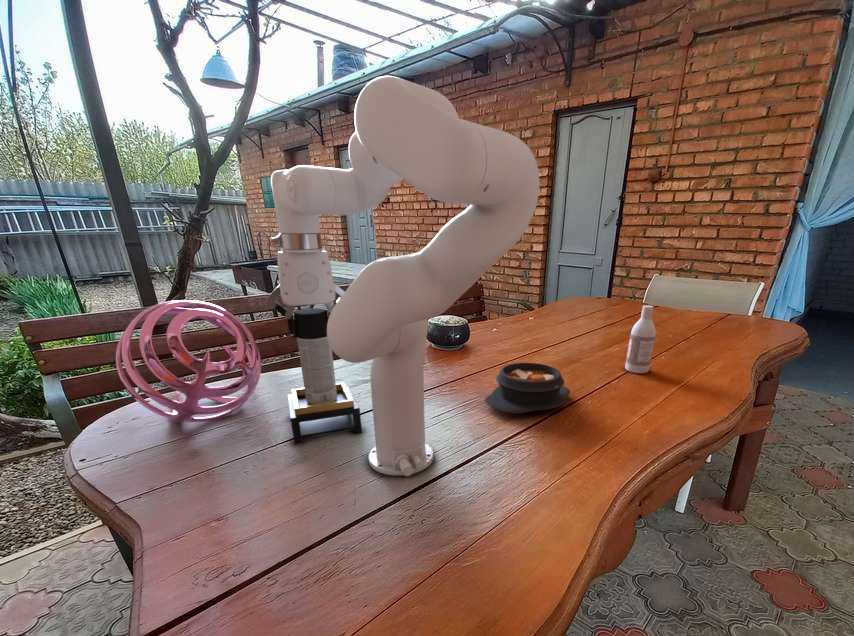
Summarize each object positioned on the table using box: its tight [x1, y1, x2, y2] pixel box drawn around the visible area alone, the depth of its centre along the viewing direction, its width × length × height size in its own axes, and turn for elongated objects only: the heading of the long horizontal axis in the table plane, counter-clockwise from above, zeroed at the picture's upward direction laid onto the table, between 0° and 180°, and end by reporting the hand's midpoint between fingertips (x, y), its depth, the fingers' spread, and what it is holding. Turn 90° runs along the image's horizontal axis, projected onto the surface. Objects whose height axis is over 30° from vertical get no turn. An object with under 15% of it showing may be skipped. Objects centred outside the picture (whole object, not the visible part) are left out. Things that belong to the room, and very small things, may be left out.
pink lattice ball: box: [115, 299, 262, 423], centre depth 98 cm, size 28×28×27 cm
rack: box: [286, 382, 363, 445], centre depth 95 cm, size 14×14×8 cm
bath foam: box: [624, 304, 657, 374], centre depth 129 cm, size 7×7×20 cm
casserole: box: [484, 362, 571, 414], centre depth 108 cm, size 25×19×8 cm
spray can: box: [293, 307, 337, 405], centre depth 90 cm, size 7×7×20 cm
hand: (313, 334), depth 88 cm, fingers closed on spray can, 6 cm apart
